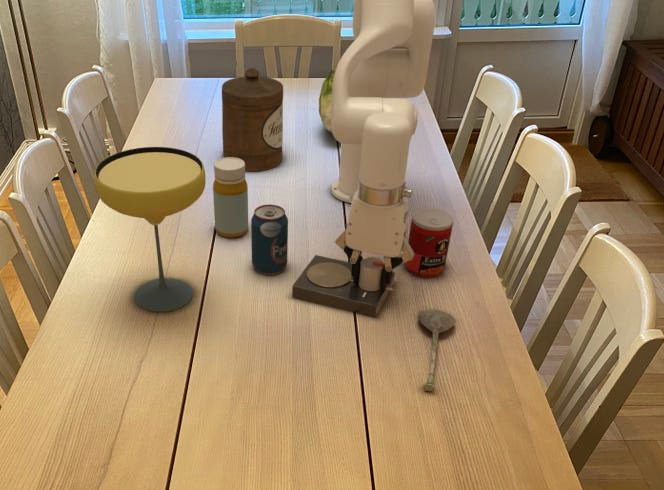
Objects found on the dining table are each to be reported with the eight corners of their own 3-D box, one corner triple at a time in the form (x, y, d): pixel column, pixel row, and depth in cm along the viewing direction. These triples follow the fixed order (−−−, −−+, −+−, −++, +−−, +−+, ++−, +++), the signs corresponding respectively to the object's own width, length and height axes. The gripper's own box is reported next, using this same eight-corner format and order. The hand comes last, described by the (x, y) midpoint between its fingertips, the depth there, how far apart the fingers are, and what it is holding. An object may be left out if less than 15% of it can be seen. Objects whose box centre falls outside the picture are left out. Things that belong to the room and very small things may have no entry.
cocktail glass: (124, 268, 140) (106, 145, 124) (216, 270, 140) (210, 146, 124) (105, 323, 126) (81, 192, 110) (207, 325, 126) (198, 194, 110)
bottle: (244, 240, 149) (242, 172, 139) (211, 237, 150) (207, 169, 140) (251, 224, 154) (250, 157, 144) (220, 221, 155) (216, 155, 146)
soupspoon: (455, 319, 129) (418, 315, 130) (457, 303, 127) (420, 299, 128) (448, 395, 112) (406, 389, 113) (451, 378, 110) (407, 372, 111)
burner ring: (316, 259, 138) (316, 258, 138) (357, 269, 136) (357, 267, 135) (300, 281, 132) (300, 280, 132) (343, 292, 130) (343, 290, 129)
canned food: (421, 282, 137) (429, 231, 130) (396, 262, 142) (403, 212, 135) (453, 272, 139) (462, 221, 133) (427, 253, 145) (436, 203, 138)
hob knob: (355, 288, 130) (357, 265, 127) (362, 276, 134) (364, 253, 131) (378, 293, 129) (381, 270, 126) (385, 281, 132) (388, 258, 129)
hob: (292, 297, 133) (292, 285, 131) (314, 265, 141) (315, 253, 140) (382, 319, 127) (383, 306, 126) (400, 285, 136) (402, 273, 134)
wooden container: (282, 172, 174) (283, 79, 160) (221, 171, 174) (217, 79, 161) (282, 147, 186) (283, 59, 172) (225, 147, 186) (221, 58, 172)
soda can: (280, 279, 137) (281, 222, 130) (246, 272, 139) (245, 217, 131) (291, 261, 142) (293, 206, 135) (258, 255, 144) (258, 200, 137)
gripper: (435, 190, 120) (420, 282, 131) (339, 173, 125) (333, 263, 136) (424, 209, 114) (410, 304, 126) (325, 190, 119) (320, 283, 131)
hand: (370, 281), depth 131 cm, fingers closed on hob knob, 4 cm apart
